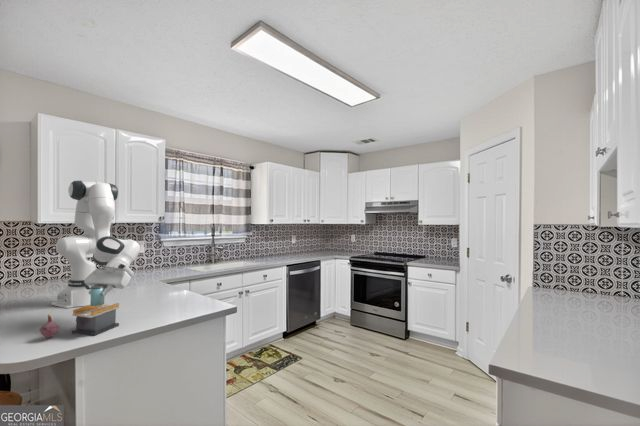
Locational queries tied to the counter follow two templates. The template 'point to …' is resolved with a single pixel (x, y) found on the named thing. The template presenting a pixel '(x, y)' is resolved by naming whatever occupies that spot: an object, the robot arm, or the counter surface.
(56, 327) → the vegetable
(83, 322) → the block
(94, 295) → the teal glass jar
